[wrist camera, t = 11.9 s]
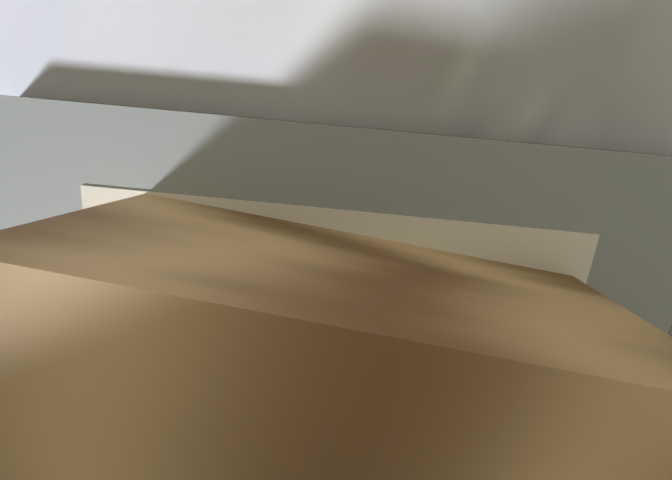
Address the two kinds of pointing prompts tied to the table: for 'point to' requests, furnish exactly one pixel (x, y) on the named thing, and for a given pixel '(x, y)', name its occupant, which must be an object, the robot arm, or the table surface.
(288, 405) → the oak block
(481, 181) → the build board
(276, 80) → the table surface
